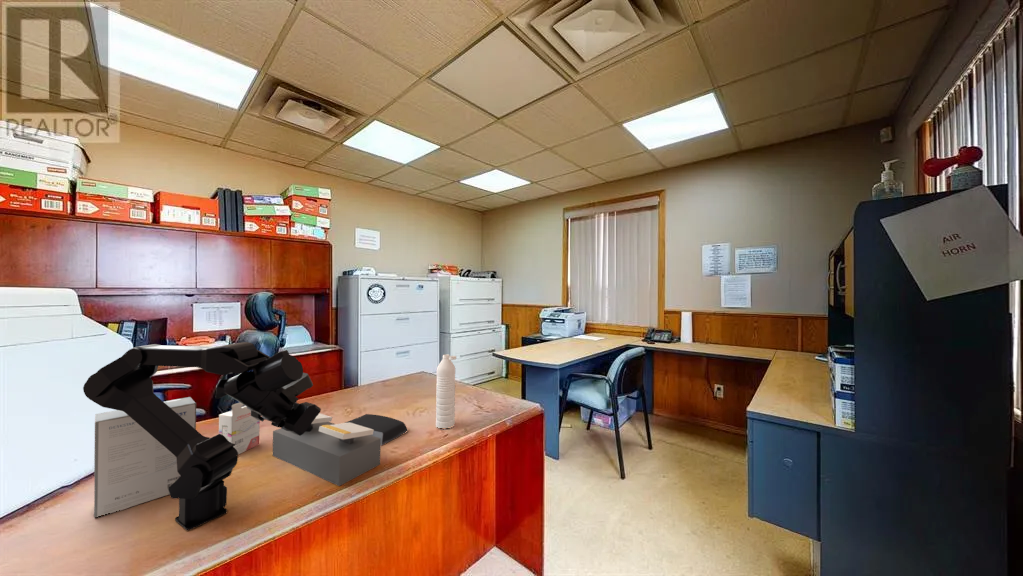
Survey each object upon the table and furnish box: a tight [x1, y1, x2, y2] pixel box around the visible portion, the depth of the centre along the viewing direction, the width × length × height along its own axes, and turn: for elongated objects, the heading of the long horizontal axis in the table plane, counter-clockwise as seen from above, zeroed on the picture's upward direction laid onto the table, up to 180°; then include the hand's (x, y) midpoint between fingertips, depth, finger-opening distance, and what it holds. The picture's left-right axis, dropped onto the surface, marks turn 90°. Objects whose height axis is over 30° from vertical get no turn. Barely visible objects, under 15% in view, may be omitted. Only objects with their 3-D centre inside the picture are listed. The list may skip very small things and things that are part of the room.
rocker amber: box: [319, 422, 374, 439], centre depth 90 cm, size 9×10×1 cm
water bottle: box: [435, 353, 457, 429], centre depth 118 cm, size 9×6×25 cm
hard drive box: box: [93, 396, 197, 518], centre depth 77 cm, size 16×8×20 cm, turn 141°
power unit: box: [272, 421, 382, 487], centre depth 94 cm, size 12×30×9 cm, turn 61°
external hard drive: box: [344, 413, 409, 446], centre depth 112 cm, size 13×19×4 cm
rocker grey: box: [311, 412, 333, 424], centre depth 99 cm, size 9×10×1 cm
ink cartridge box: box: [218, 402, 261, 455], centre depth 99 cm, size 9×5×15 cm, turn 168°
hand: (310, 429), depth 81 cm, fingers closed
